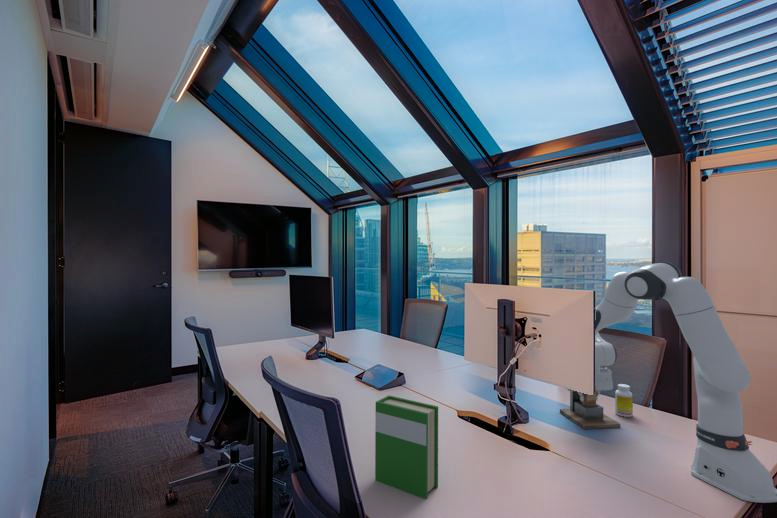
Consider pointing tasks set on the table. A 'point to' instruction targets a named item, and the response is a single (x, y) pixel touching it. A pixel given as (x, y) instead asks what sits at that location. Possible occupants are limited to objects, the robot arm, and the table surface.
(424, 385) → the table surface
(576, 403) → the grey open holder
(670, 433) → the table surface
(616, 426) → the walnut base board
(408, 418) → the hardback book
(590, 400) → the oak rail end
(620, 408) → the supplement bottle
